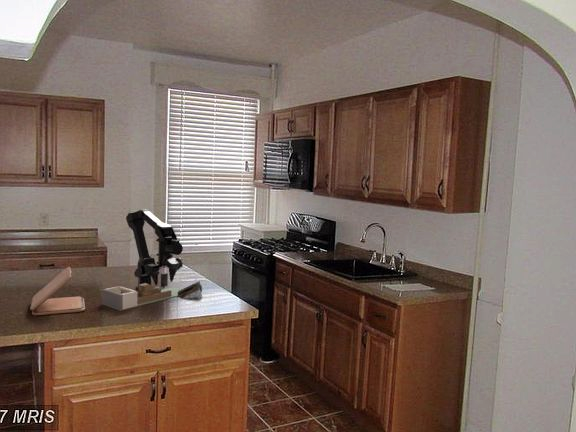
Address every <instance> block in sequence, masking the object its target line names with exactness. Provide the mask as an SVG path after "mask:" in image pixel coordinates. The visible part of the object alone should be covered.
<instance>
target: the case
mask: <svg viewBox="0 0 576 432" xmlns="http://www.w3.org/2000/svg"><path fill="white" fill-rule="evenodd" d="M72 275H73V271H72V270H71V267H70V266H68V267H66V268H64V269H63V270H62V271H61V272H60V273H59V274H57V275H56V276H55V277H54V278H53V279H52V280H51V281H50V282H49V283H47V284H46V285H45V286H44V287H43V288H42V289H40V290H39V291H38V292H37V293H36V294H35V295H34V296H33V297H32V298H31V304H30V307H29V308H30V310H31V311H32V312H31V313H32V315H33V316H45V315H46V316H47V315H55V314H56V315H58V314H69V313H78V312H79V313H82V312H83V311H85V310H86V305H85V304H86V303H85V298H84V297H82V296H77V295H76V296H65V297H63V296H62V297H53V298H50V297H52V296H53V295H54V294H55V293H56V292H58V291H59V290H60V289H61V288H63V287H64V286H65V285H66V284H68V283H69V281H70V280H71V278H72Z"/></svg>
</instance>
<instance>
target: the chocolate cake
mask: <svg viewBox="0 0 576 432" xmlns="http://www.w3.org/2000/svg"><path fill="white" fill-rule="evenodd" d="M202 293H203V286H202V284H201V282H200V281H197V282H194V283H192V284H190V285H188V286H186V287H184V288H183V289H182V288H181V289H180V290H179V291H178V293H177V294H178V295H179V296H178V297H180V298H181V299H189V300H192V299H198V300H199V299H202V297H203V296H202V295H203V294H202Z"/></svg>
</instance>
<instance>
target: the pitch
mask: <svg viewBox="0 0 576 432" xmlns="http://www.w3.org/2000/svg"><path fill="white" fill-rule="evenodd" d="M179 290H181V289H180V288H177V287H176V288H175V287H168V288H164V289H160V290H155V291H152V295H148V296H144V297H140V298H138V296H139V291H137V306H134V307H130V308H126V309H122V310H119V309H116V308H113V307H110V306H108V305H105V304H102V305H103V306H106V307H109V308H111V309H115V310H118V311H120V312H121V311H124V310H129V309H132V308H136V307H141V306H145V305H147V304H152V303H156V302H159V301H164V300H168V299H171V298H175V297H176V298H177V297H180V296H179V295H178V294H177V293H178V291H179Z"/></svg>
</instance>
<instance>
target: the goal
mask: <svg viewBox="0 0 576 432" xmlns="http://www.w3.org/2000/svg"><path fill="white" fill-rule="evenodd" d="M122 291H126V292H125V293H122ZM137 292H138V290H135V289H132V288H131V289H130V288H127V287H124V286H121V285H117V286H113V287H108V288H104V289H103V288H102V292H101V294H102V297H101V299H102V305H103V304H105V305H104V306H106V305H108V306H110V307H109V308H111V307H113V308H112V309H114V308H116V309H115V310H117V309H119V310H118V311H120V310H121V311H123V310H122V309H125V310H127V309H126V308H129V309H131V308H130V307H133V308H135V307H134V306H137ZM108 306H107V307H108ZM137 307H138V306H137Z"/></svg>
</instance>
